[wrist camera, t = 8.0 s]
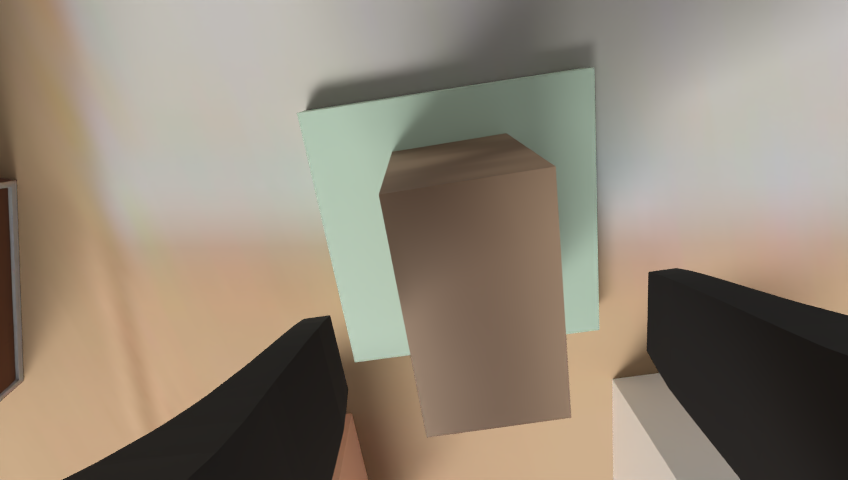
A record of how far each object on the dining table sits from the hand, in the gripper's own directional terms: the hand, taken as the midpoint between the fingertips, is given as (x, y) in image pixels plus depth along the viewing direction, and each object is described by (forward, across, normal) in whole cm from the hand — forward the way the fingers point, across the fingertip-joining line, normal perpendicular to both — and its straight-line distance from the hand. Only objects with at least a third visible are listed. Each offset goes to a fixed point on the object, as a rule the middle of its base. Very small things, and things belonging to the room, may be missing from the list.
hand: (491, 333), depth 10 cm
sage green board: (+8, 0, 0) cm, 8 cm away
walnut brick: (+7, 0, 0) cm, 7 cm away
